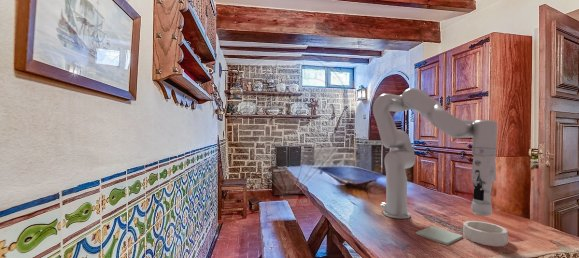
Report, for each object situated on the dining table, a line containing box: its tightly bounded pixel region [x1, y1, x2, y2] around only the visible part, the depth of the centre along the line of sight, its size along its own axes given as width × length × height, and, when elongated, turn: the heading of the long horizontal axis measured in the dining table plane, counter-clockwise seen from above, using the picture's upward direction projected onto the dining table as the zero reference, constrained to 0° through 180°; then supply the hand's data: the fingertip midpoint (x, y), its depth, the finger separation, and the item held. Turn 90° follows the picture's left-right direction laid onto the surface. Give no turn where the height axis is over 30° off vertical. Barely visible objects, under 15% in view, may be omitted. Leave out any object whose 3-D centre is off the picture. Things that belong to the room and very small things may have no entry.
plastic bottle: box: [470, 175, 494, 217], centre depth 103 cm, size 6×7×20 cm
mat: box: [415, 225, 464, 246], centre depth 105 cm, size 12×12×1 cm
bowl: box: [462, 220, 509, 247], centre depth 102 cm, size 13×13×4 cm
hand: (481, 198), depth 103 cm, fingers closed on plastic bottle, 5 cm apart
